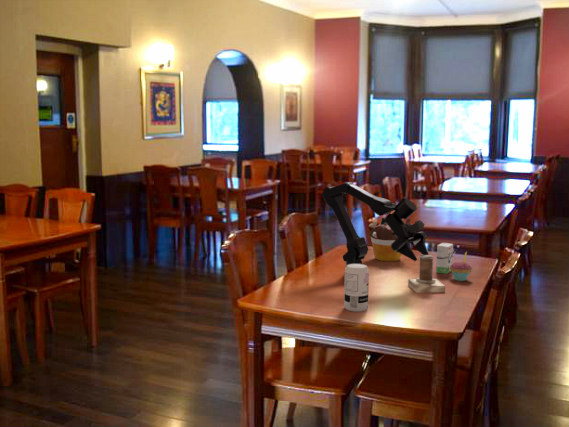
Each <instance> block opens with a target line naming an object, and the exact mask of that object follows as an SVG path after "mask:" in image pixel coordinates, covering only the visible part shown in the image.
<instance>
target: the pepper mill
mask: <svg viewBox="0 0 569 427" xmlns="http://www.w3.org/2000/svg"><path fill="white" fill-rule="evenodd" d="M433 264H434V256H433V255H430V254H429V255H423V254H420V255H419V277H416V278H415V279H416V281H417V282H421V283H424V284H427V283H434V282H436V280H435V279H436V278H433Z"/></svg>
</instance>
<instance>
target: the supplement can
mask: <svg viewBox="0 0 569 427" xmlns="http://www.w3.org/2000/svg"><path fill="white" fill-rule="evenodd" d="M369 281H370V270H369V268H368V265H366V264H363V263H362V264H348V265H347V266H346V265H345V268H344V282H343V283H344V285H343V288H344V289H343V290H344V291H343V292H344V294H343V296H344V297H343V307H344V308H345V310H347V311H350V312H355V313H357V312H359V313H360V312H361V313H362V312H364V311H367V309H369V287H370V286H369V283H370V282H369Z"/></svg>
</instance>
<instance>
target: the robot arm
mask: <svg viewBox="0 0 569 427" xmlns="http://www.w3.org/2000/svg"><path fill="white" fill-rule="evenodd" d="M347 194H348V195H349V196H352V197H353V198H354V199H357V200H359V201H360V202H362V203H364V204H365V205H367V206H368V207H369V208H370V210H371V212H373V213H375V214H376V215H377V216H385V215H386V217H381V221H380V222H381V225H384V224H388V226H389V227H390V228H391V230H392V231H393V233H392V235H393V236H395V235H396V237H397V239H396V240H395V241H394V242H393V243H392V244H391V248H392V250H393V251H396V252H399V253H401V255H403V256H404V257H407V258H408V259H410V260H412V261H414V262H416V261H417V260H418V258H417V256H416V254H415V253H414V251H413V249H415V250H416V251H417V252H419V253H420V255H430V254H429V252H428V248H427V246H426V240H427V236H428V235H427V233H426V232H425V231H424V230H425V222H424V221H423V220H420V219H418V220H416V221H414V223H413V224H412V223H411V225H409V224H405V221H404V220H406V219H407V218H410V216H412V215H413V214H414V213H415V212H416V211H417V210H418V208H417V207H418V206H416V204H415V203H414V202H413V201H412V200H410V199H409V198H407V197H402V199H401V200H400V201H399V202H398V203H397V204H396V203H393V202H392V201H391V200H389V199H386V198H383V197H379V196H376V195H374V194H372V193H370V192H368V191H366V190H364V189H363V188H362V187H359V186H358V185H356V184H355V183H353V182H351V181H348V182H343V183H341V184H338V185H334V186H328V187H325V188H324V189H323V190H322V193H321V196H322V198H323V200H324V202H325V203H326V205H328V206H329V207H330V208H331V209H332V211H333V213H334V215H335V217H336V219H337V221H338V224H339V226H340V228H341V231H342V232H343V234H344V236H345V239H346V245H345V246H346V250H347V251H346V252H345V253H344V254H343V255H342V259H343V262H345V267H346V266H347V265H348V264H363V260H364V259H365V257H366V256H367V254H368V252H369V244H368V243H367V241H366V238H365V237H364V236H362V237H360V236H359V235H358V233H357V231H356V229H355V227H354V225H353V222H352V220H351V219H350V216H349V214H348V212H347V210H346V208H345V205H344V195H347ZM411 246H412V248H413V249H412V248H411Z"/></svg>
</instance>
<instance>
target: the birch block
mask: <svg viewBox="0 0 569 427" xmlns="http://www.w3.org/2000/svg"><path fill="white" fill-rule="evenodd" d="M416 279H417V278H408V279H407V281H408V282H407V285H408V286H409V288H411V289H412V290H413V291H414V292H415V293H446V292H445V291H446V285H445V284H443V283H442V282H441V280H439V279H437V278H434V279H435V280H436V282H434V283H427V284H424V283H421V282H417V281H416Z"/></svg>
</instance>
